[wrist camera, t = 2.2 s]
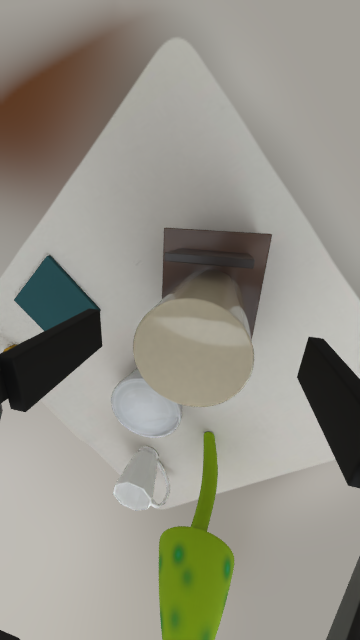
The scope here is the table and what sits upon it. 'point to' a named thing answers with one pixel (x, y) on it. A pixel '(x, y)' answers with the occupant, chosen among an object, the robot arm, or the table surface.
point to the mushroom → (195, 567)
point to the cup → (140, 481)
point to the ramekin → (144, 408)
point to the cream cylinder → (196, 341)
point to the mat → (52, 296)
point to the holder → (217, 260)
